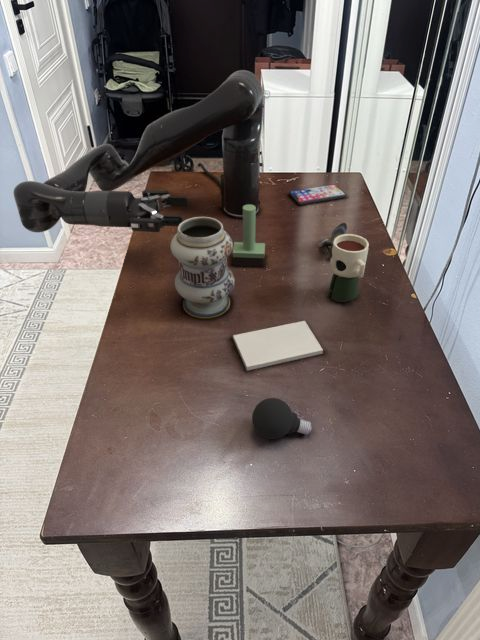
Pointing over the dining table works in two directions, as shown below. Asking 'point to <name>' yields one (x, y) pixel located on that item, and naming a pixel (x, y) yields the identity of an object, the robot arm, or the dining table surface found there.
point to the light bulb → (277, 419)
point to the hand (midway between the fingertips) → (185, 211)
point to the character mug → (347, 266)
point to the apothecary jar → (203, 266)
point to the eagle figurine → (329, 242)
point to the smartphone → (317, 194)
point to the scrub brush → (249, 242)
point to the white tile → (276, 345)
